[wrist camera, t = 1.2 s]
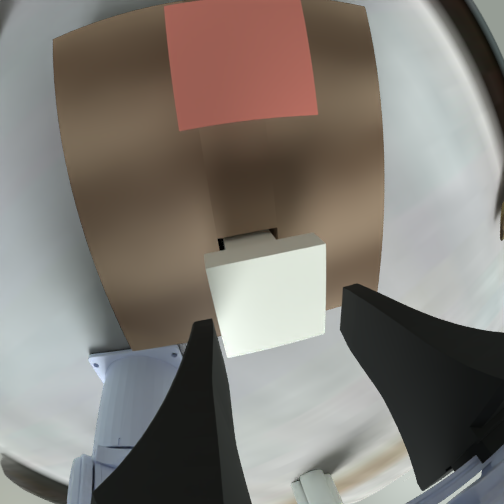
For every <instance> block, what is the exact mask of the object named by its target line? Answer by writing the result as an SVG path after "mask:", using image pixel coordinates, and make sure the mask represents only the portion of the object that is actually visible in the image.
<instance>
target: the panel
mask: <svg viewBox="0 0 504 504" xmlns="http://www.w3.org/2000/svg"><path fill="white" fill-rule="evenodd" d="M192 1H200V0H184V1H177V2H172V3H166V4H161V5H156V6H151V7H147V8H143V9H138V10H134V11H131V12H127V13H123V14H120V15H116V16H113V17H110V18H107V19H104V20H101V21H98V22H95V23H92V24H89V25H87V26H84V27H81V28H79V29H76V30H74V31H71V32H69V33H66V34H64V35H62V36H60V37H57V38H55V39H53V67H54V84H55V95H56V105H57V113H58V121H59V128H60V134H61V140H62V146H63V151H64V156H65V161H66V166H67V171H68V175H69V180H70V184H71V188H72V192H73V196H74V200H75V204H76V207H77V211H78V214H79V218H80V221H81V225H82V228H83V231H84V234H85V237H86V241H87V244H88V247H89V250H90V252H91V255H92V258H93V261H94V264H95V267H96V269H97V272H98V275H99V277H100V280H101V282H102V285H103V287H104V290H105V292H106V295H107V297H108V300H109V302H110V304H111V307H112V309H113V311H114V313H115V316H116V318H117V320H118V322H119V325H120V327H121V329H122V331H123V333H124V335H125V337H126V339H127V341H128V343H129V345H130V347H131V349H132V351H138V350H145V349H151V348H158V347H164V346H170V345H176V344H182V343H187V342H188V340H189V337H190V333H191V329H192V325H193V323H194V322H195V321H201V320H206V319H211V318H212V319H213V323H214V327H215V330H216V334H217V337H218V336H222V335H221V331H220V327H219V323H218V319H217V315H216V311H215V307H214V303H213V299H212V295H211V290H210V286H209V282H208V277H207V273H206V268H205V261H204V254H207V253H212V252H217V251H220V250H219V244H218V239H219V238H224V237H230V236H235V235H240V234H245V233H250V232H255V231H260V230H266V229H269V231H270V232H271V233H272V235H273V236H274V237H275V239H276V240H277V239H282V238H287V237H292V236H298V235H303V234H308V233H314V234H316V235H317V236H318V237H319V238H320V239H321V240H322V241H323V242H325V243H326V310H329V309H333V308H336V307H340V306H342V292H343V287H345V286H349V285H352V284H356V283H358V284H360V285H363V286H365V287H367V288H370V289H372V290H374V291H376V292H377V290H378V282H379V272H380V262H381V251H382V237H383V219H384V142H383V125H382V111H381V100H380V91H379V82H378V75H377V67H376V61H375V54H374V49H373V43H372V37H371V32H370V27H369V23H368V18H367V14H366V9H365V7H364V6H359V5H354V4H349V3H344V2H338V1H331V0H301V5H302V10H303V15H304V20H305V26H306V31H307V37H308V43H309V49H310V55H311V62H312V69H313V76H314V83H315V91H316V100H317V108H318V115H309V116H295V117H281V118H270V119H260V120H251V121H242V122H235V123H228V124H221V125H214V126H208V127H202V128H197V129H191V130H186V131H179V127H178V120H177V114H176V107H175V100H174V93H173V85H172V78H171V70H170V61H169V53H168V44H167V34H166V24H165V13H164V6H167V5H173V4H179V3H185V2H192ZM326 310H325V311H326Z"/></svg>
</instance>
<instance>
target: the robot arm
mask: <svg viewBox="0 0 504 504" xmlns="http://www.w3.org/2000/svg"><path fill="white" fill-rule="evenodd" d="M340 331H341V333H342V335H343V337H344V339H345V341H346V343H347V345H348V347H349V349H350V350H351V352H352V353H353V355H354V356H355V358H356V359H357V361H358V362H359V364H360V365H361V367H362V368H363V369H364V371H365V372H366V374H367V375H368V377H369V378H370V379H371V381H372V382H373V384H374V385H375V387H376V388H377V390H378V391H379V393H380V394H381V396H382V397H383V399H384V401H385V403H386V405H387V407H388V409H389V411H390V413H391V415H392V417H393V419H394V421H395V423H396V425H397V427H398V430H399V432H400V434H401V436H402V439H403V441H404V444H405V446H406V449H407V451H408V454H409V457H410V460H411V463H412V466H413V469H414V472H415V475H416V480H417V483H418V485H419V487H420V488H421V490H422V491H424V490H425V489H427V488H429V487H430V486H431V485H433V484H435V483H436V482H438V481H439V480H441V479H442V478H444V477H445V476H446V475H448V474H449V473H450V472H452V471H453V470H454V471H455V472H454V473H452V474H451V475H450V476H448V477H447V478H445V479H444V480H443V481H441V482H439V483H438V484H437V485H435V486H434V487H432V488H430V489H429V490H427V491H426V492H424V493H423V494H421V495H419V496H418V497H416V498H414V499H413V500H411V501H409V502H407V503H406V504H438V503H439V502H441V501H442V500H444V499H445V498H447V497H448V496H449V495H451V494H452V493H454V492H455V491H456V490H458V489H459V488H460V487H461V486H463V485H464V484H465V483H467V482H468V481H469V480H470V479H471V478H473V477H474V476H475V475H476V474H477V473H479V472H480V471H481V470H482V475H481V477H480V478H479V479H478V480H476V481H475V482H474V483H472V484H471V485H470V486H468V487H467V488H466V489H464V490H463V491H462V492H460V493H459V494H458V495H456V496H455V497H454V498H453V499H451V500H450V501H449V502H448V503H447V504H504V333H502V332H492V331H486V330H480V329H475V328H470V327H466V326H462V325H458V324H454V323H451V322H448V321H445V320H441V319H438V318H436V317H433V316H430V315H428V314H425V313H423V312H420V311H418V310H415V309H413V308H411V307H408V306H406V305H404V304H402V303H399V302H397V301H395V300H393V299H391V298H389V297H387V296H385V295H382V294H380V293H378V292H376V291H374V290H372V289H370V288H367V287H365V286H363V285H360V284H358V283H356V284H352V285H349V286H345V287H343V292H342V309H341V323H340ZM172 353H176V354H172ZM88 360H89V362H90V364H91V365H92V367H93V369H94V370H95V372H96V373H97V375H98V376H99V378H100V379H101V381H102V382H103V384H104V386H103V391H102V396H101V402H100V407H99V413H98V419H97V425H96V432H95V439H94V446H93V454H92V456H88V455H85V454H82V455H81V456H80V457H78V458H75V459H74V461H73V464H72V468H71V474H70V480H69V487H68V497H67V504H252V503H251V499H250V496H249V492H248V489H247V485H246V482H245V478H244V474H243V470H242V467H241V463H240V459H239V455H238V450H237V446H236V440H235V434H234V425H233V417H232V408H231V399H230V390H229V383H228V378H227V373H226V369H225V364H224V359H223V356H222V352H221V349H220V345H219V341H218V338H217V334H216V330H215V327H214V323H213V319H212V318H211V319H206V320H201V321H195V322H194V323H193V325H192V329H191V333H190V337H189V340H188V343H187V346H186V349H185V352H184V355H183V357H182V354H181V352H180V349H179V347H178V345H177V344H176V345H170V346H164V347H158V348H151V349H145V350H138V351H132V349H129V350H122V351H114V352H106V353H97V354H91V355H89V358H88ZM96 363H97V364H96Z"/></svg>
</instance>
